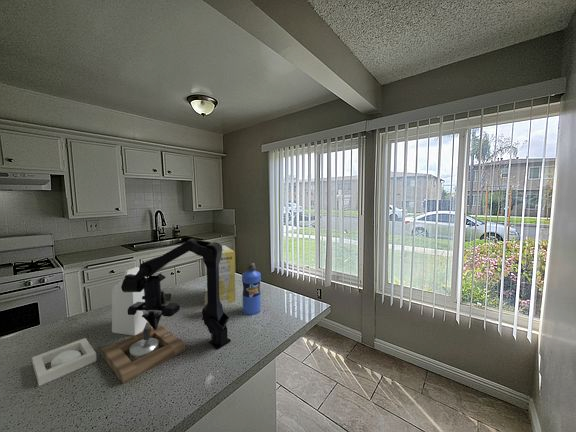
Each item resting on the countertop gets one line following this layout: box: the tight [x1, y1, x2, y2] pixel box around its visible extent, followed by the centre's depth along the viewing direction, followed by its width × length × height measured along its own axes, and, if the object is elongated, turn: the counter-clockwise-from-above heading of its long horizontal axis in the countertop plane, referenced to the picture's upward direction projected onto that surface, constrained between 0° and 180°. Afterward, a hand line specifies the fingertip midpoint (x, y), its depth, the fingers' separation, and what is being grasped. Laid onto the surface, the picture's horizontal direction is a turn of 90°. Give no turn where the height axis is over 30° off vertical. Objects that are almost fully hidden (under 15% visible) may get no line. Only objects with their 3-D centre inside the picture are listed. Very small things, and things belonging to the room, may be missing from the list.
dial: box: [129, 322, 160, 362], centre depth 88 cm, size 14×9×7 cm, turn 21°
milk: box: [111, 266, 148, 336], centre depth 103 cm, size 12×12×26 cm
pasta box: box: [219, 245, 236, 305], centre depth 133 cm, size 18×10×28 cm, turn 31°
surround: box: [101, 324, 186, 385], centre depth 86 cm, size 20×20×3 cm
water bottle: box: [241, 261, 262, 316], centre depth 118 cm, size 9×9×25 cm
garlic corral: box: [31, 337, 97, 387], centre depth 81 cm, size 14×14×3 cm
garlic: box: [50, 350, 82, 368], centre depth 81 cm, size 8×7×4 cm
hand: (155, 329), depth 93 cm, fingers closed
